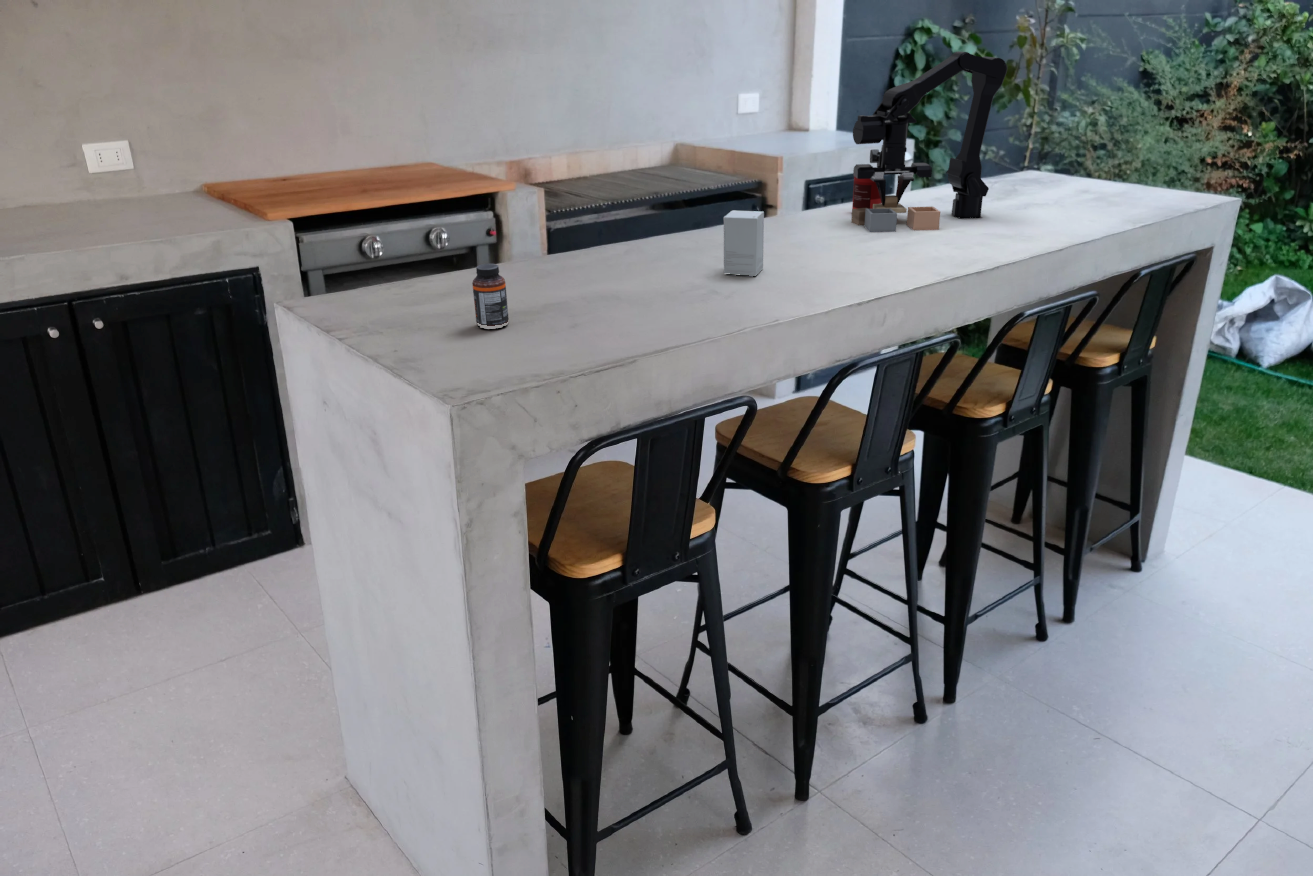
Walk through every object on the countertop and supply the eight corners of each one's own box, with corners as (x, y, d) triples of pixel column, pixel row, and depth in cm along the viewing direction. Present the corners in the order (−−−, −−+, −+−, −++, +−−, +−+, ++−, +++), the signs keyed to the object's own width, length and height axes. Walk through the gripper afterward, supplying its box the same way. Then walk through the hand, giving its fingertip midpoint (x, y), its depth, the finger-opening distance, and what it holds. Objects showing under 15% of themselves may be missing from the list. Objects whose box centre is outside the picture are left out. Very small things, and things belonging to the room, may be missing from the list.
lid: (906, 212, 251) (907, 198, 249) (878, 213, 251) (879, 199, 249) (899, 207, 257) (900, 193, 256) (872, 207, 257) (873, 194, 255)
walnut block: (865, 223, 256) (866, 207, 255) (872, 226, 253) (873, 210, 251) (851, 224, 255) (852, 208, 254) (858, 227, 252) (859, 211, 250)
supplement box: (764, 268, 217) (765, 210, 211) (755, 277, 210) (757, 218, 205) (731, 266, 219) (732, 209, 214) (722, 275, 212) (722, 216, 207)
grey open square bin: (889, 228, 251) (890, 208, 249) (895, 233, 245) (897, 213, 243) (864, 228, 251) (865, 208, 249) (869, 234, 245) (871, 214, 243)
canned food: (879, 211, 269) (882, 170, 265) (882, 217, 262) (885, 175, 258) (850, 211, 270) (853, 170, 266) (853, 217, 263) (855, 175, 258)
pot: (931, 226, 252) (933, 206, 250) (938, 231, 246) (940, 211, 244) (906, 226, 252) (908, 207, 250) (912, 232, 246) (914, 212, 244)
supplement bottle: (477, 321, 185) (472, 262, 181) (509, 320, 186) (504, 261, 181) (475, 331, 180) (469, 270, 175) (508, 330, 180) (503, 269, 176)
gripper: (922, 136, 254) (917, 198, 261) (850, 138, 254) (847, 200, 260) (935, 142, 244) (929, 206, 251) (859, 144, 244) (855, 208, 250)
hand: (889, 205), depth 253 cm, fingers closed on lid, 3 cm apart
